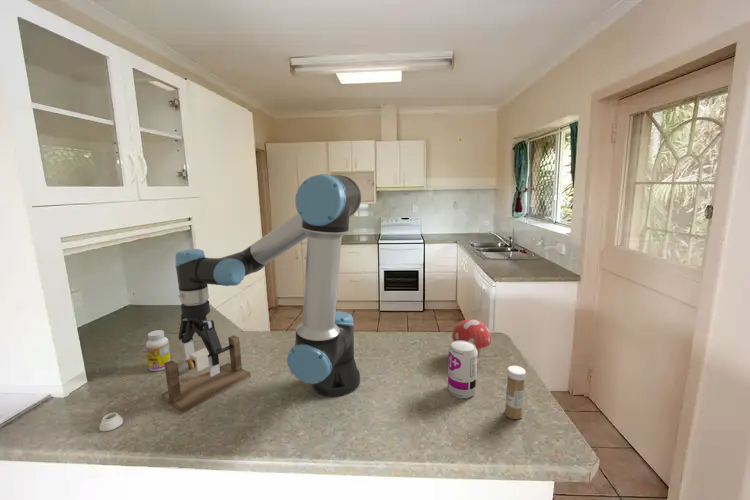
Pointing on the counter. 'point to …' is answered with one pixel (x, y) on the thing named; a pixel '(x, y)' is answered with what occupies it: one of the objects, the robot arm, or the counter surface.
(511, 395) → the sprinkles bottle
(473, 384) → the supplement can
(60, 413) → the counter surface
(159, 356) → the supplement bottle
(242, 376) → the brown stand with rod
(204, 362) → the sleeve
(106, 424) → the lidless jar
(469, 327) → the decorative mushroom
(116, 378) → the counter surface
